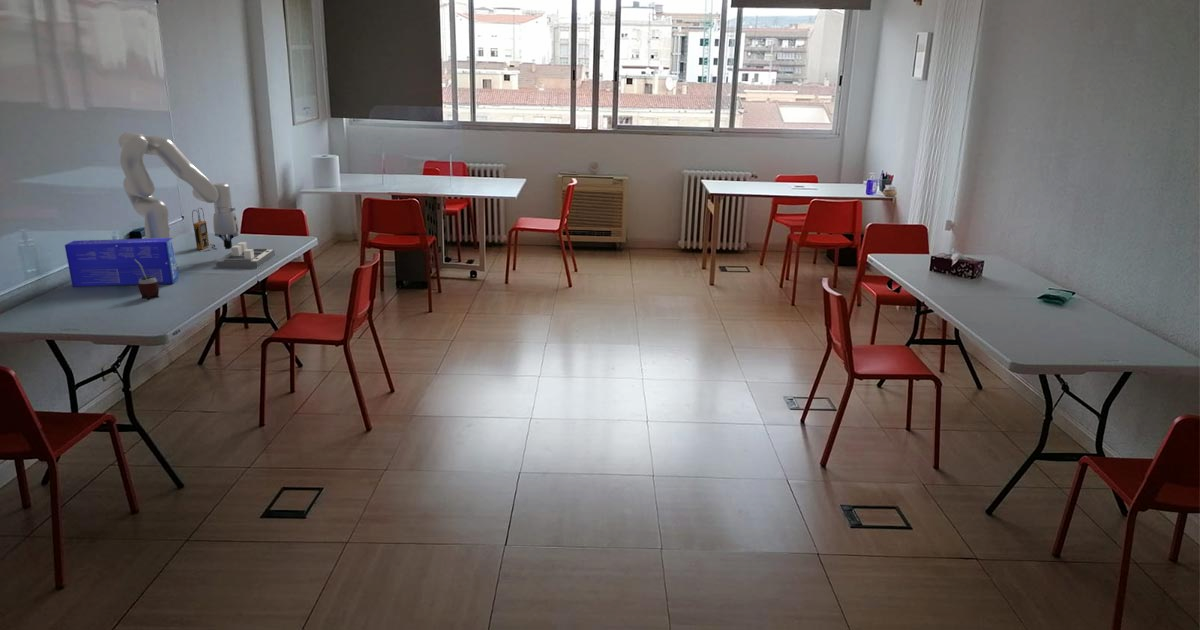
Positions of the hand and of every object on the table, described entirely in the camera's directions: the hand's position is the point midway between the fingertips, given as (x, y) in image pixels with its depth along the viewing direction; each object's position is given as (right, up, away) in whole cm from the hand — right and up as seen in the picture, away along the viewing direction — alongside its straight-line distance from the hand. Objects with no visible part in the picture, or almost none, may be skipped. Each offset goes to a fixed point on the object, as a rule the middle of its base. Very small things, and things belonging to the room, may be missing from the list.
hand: (228, 248), depth 385 cm
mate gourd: (-3, -25, -62) cm, 66 cm away
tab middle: (+7, -3, -6) cm, 10 cm away
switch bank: (+11, -7, -5) cm, 13 cm away
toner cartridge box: (-23, -19, -43) cm, 52 cm away
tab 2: (+15, -6, -12) cm, 20 cm away
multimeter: (-17, +1, +19) cm, 26 cm away
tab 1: (+7, -1, +1) cm, 7 cm away
